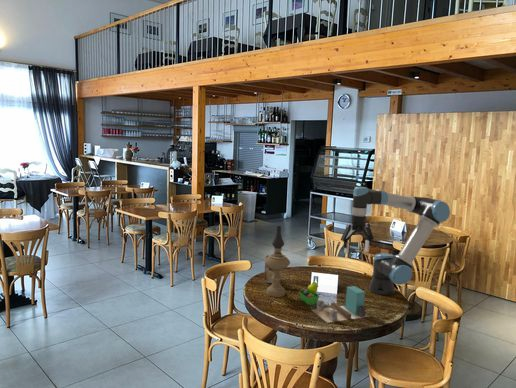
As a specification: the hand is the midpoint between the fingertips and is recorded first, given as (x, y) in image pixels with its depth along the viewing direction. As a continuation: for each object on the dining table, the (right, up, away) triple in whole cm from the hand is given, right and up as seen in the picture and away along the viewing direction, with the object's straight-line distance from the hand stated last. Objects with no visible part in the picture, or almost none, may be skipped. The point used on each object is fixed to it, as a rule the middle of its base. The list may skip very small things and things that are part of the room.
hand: (356, 252), depth 227 cm
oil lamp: (-44, -26, +12) cm, 53 cm away
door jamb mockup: (-12, -30, -13) cm, 35 cm away
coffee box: (-46, -23, +32) cm, 60 cm away
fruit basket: (-26, -28, +1) cm, 38 cm away
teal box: (-4, -30, -10) cm, 32 cm away
